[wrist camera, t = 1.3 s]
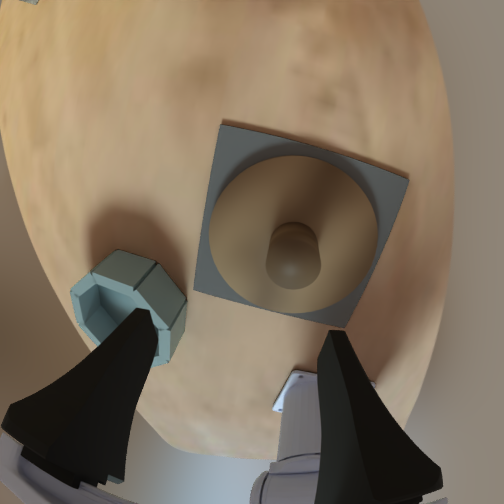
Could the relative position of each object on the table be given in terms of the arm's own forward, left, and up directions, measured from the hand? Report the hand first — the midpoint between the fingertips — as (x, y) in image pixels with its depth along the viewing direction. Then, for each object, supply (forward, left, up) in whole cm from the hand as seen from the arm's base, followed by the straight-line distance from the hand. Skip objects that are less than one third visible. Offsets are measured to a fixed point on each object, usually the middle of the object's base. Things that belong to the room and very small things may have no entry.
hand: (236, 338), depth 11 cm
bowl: (+10, +9, -10) cm, 17 cm away
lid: (-2, -1, -10) cm, 10 cm away
